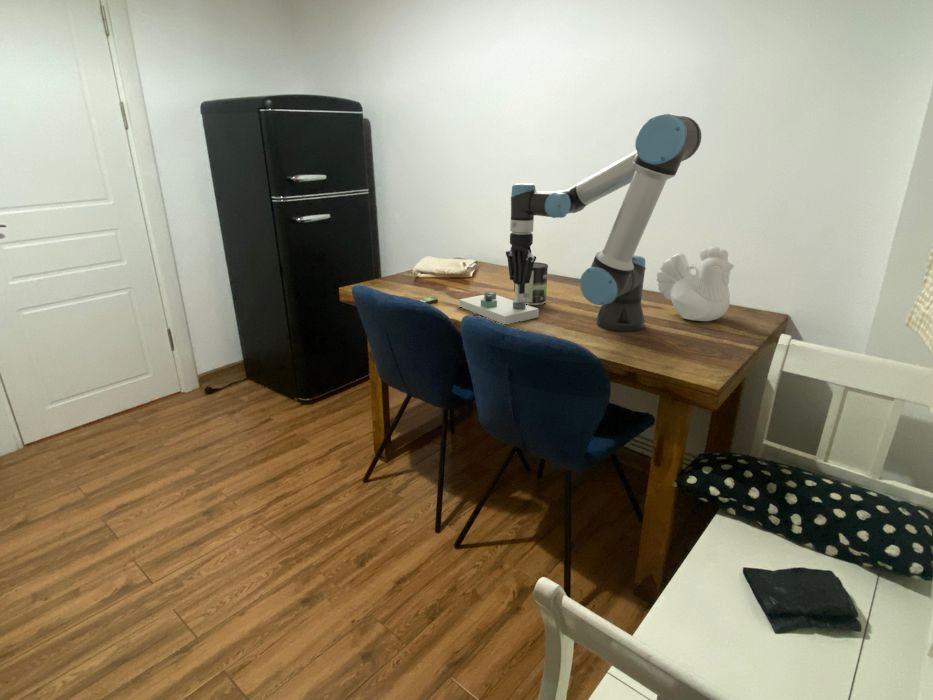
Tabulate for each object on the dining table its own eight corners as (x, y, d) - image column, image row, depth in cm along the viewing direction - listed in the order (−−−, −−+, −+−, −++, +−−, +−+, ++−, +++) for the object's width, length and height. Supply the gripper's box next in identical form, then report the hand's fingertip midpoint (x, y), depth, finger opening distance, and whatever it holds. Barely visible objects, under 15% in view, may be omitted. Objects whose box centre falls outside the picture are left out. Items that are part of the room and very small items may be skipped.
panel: (538, 317, 187) (538, 308, 186) (504, 325, 179) (505, 316, 178) (491, 300, 207) (491, 293, 206) (459, 307, 199) (459, 299, 197)
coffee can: (547, 298, 210) (548, 262, 205) (545, 306, 200) (547, 268, 195) (520, 297, 212) (521, 261, 207) (517, 304, 202) (518, 267, 197)
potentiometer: (496, 306, 189) (497, 296, 188) (487, 308, 187) (487, 297, 186) (489, 303, 192) (489, 293, 191) (480, 305, 190) (480, 295, 189)
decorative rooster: (736, 321, 182) (749, 247, 173) (706, 329, 174) (718, 252, 166) (674, 304, 202) (684, 236, 193) (645, 310, 194) (653, 240, 186)
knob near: (527, 316, 188) (528, 303, 186) (518, 318, 186) (518, 305, 184) (519, 313, 191) (519, 300, 190) (509, 315, 189) (510, 302, 187)
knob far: (498, 305, 200) (498, 293, 198) (489, 307, 198) (489, 295, 196) (491, 303, 203) (491, 291, 202) (481, 305, 201) (481, 292, 199)
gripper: (500, 231, 181) (498, 299, 190) (526, 236, 171) (523, 308, 180) (517, 229, 185) (514, 296, 194) (543, 234, 176) (539, 304, 184)
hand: (518, 301), depth 187 cm, fingers closed
